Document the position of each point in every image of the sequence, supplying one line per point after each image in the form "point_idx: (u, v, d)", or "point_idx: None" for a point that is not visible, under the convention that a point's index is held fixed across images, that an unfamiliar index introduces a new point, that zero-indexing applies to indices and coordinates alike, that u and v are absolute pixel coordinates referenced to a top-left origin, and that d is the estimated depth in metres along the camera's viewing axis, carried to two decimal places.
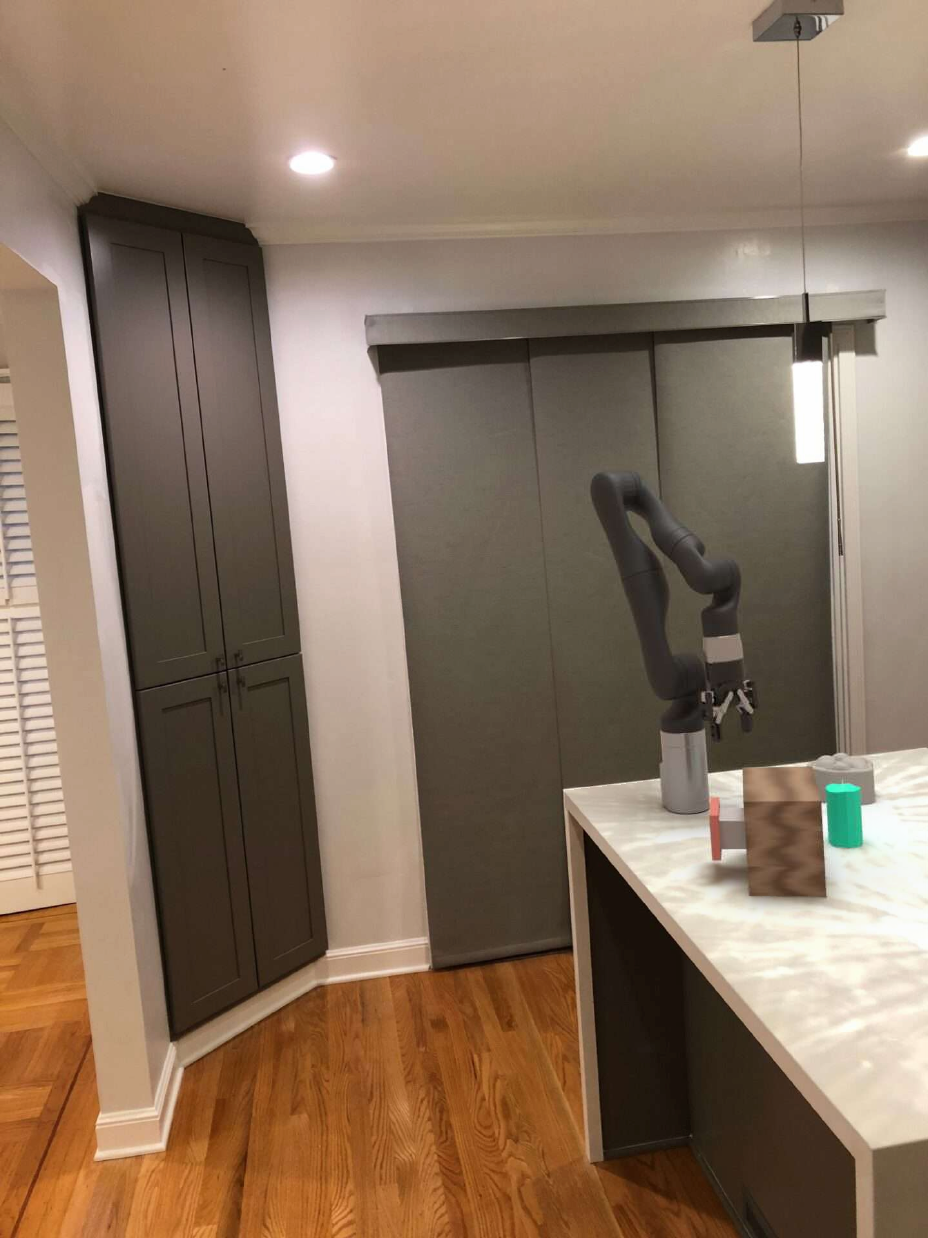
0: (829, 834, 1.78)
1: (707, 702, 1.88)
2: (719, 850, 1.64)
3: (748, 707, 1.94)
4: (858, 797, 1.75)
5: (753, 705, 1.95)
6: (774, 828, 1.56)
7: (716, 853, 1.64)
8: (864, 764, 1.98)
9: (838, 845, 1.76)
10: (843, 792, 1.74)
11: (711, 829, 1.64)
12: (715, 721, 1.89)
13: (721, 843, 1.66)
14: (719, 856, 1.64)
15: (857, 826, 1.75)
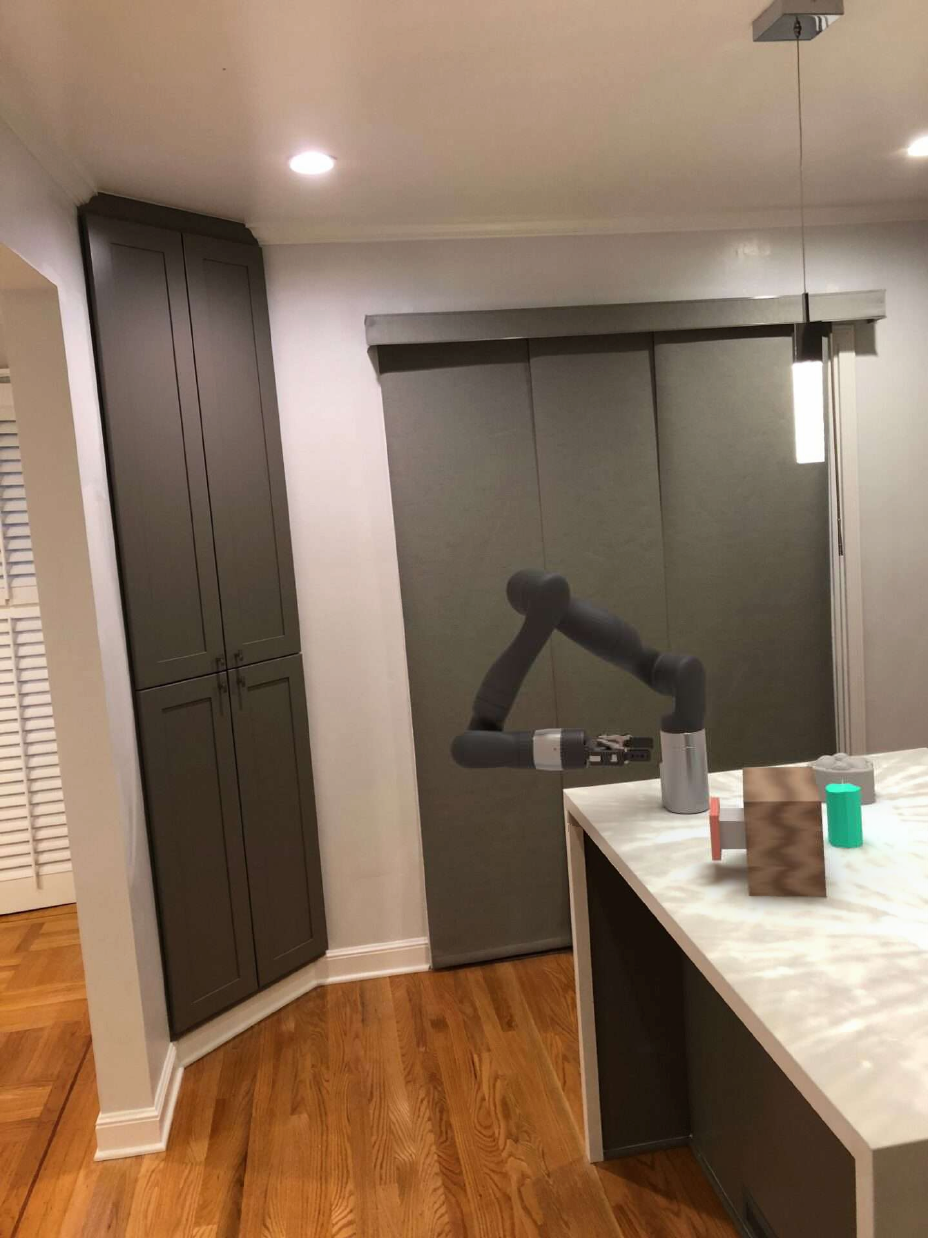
0: (829, 834, 1.78)
1: None
2: (719, 850, 1.64)
3: None
4: (858, 797, 1.75)
5: None
6: (774, 828, 1.56)
7: (716, 853, 1.64)
8: (864, 764, 1.98)
9: (838, 845, 1.76)
10: (843, 792, 1.74)
11: (711, 829, 1.64)
12: None
13: (721, 843, 1.66)
14: (719, 856, 1.64)
15: (857, 826, 1.75)
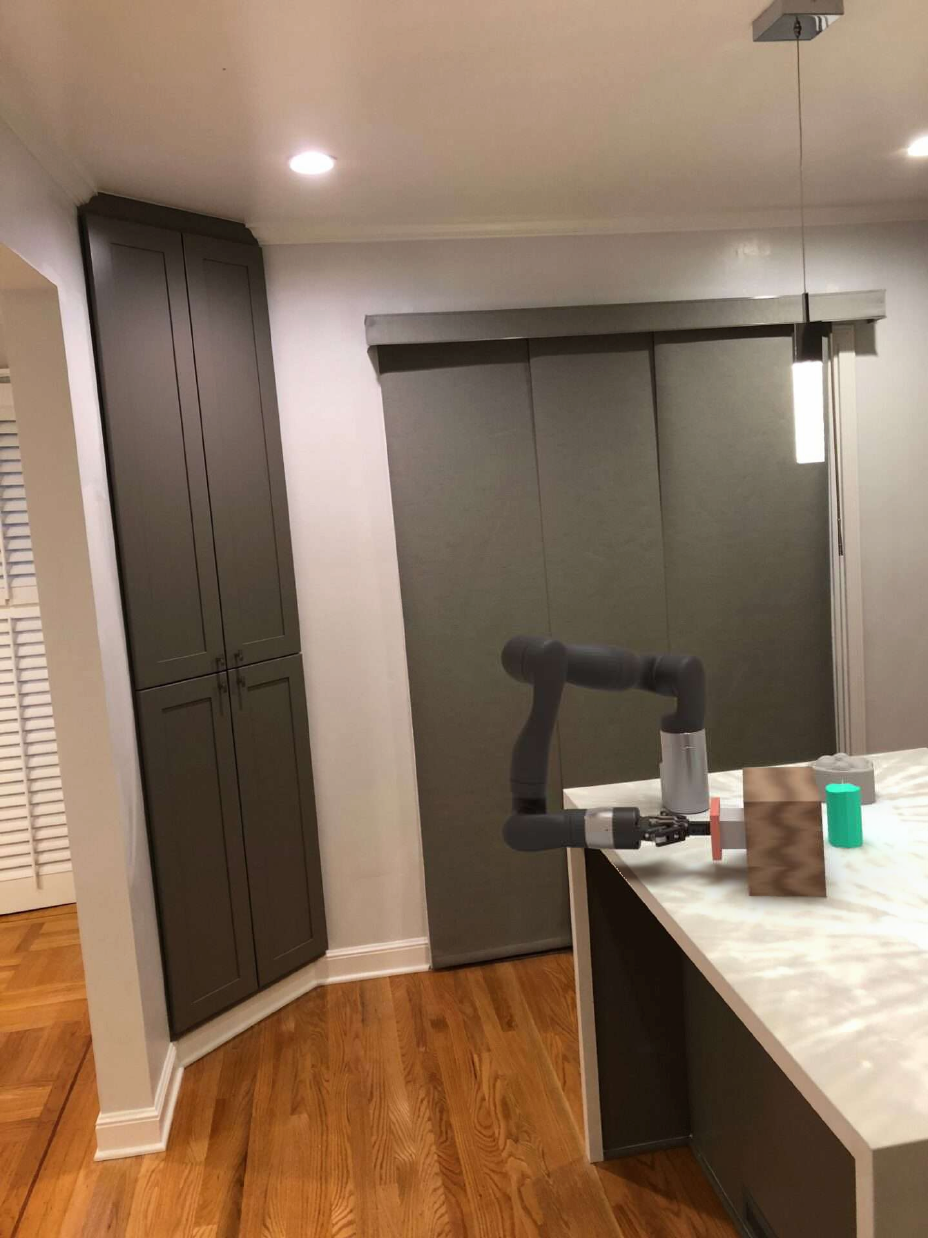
0: (829, 834, 1.78)
1: None
2: (719, 850, 1.64)
3: None
4: (858, 797, 1.75)
5: None
6: (774, 828, 1.56)
7: (717, 853, 1.64)
8: (864, 764, 1.98)
9: (838, 845, 1.76)
10: (843, 792, 1.74)
11: (711, 829, 1.64)
12: None
13: (721, 843, 1.65)
14: (719, 856, 1.64)
15: (857, 826, 1.75)
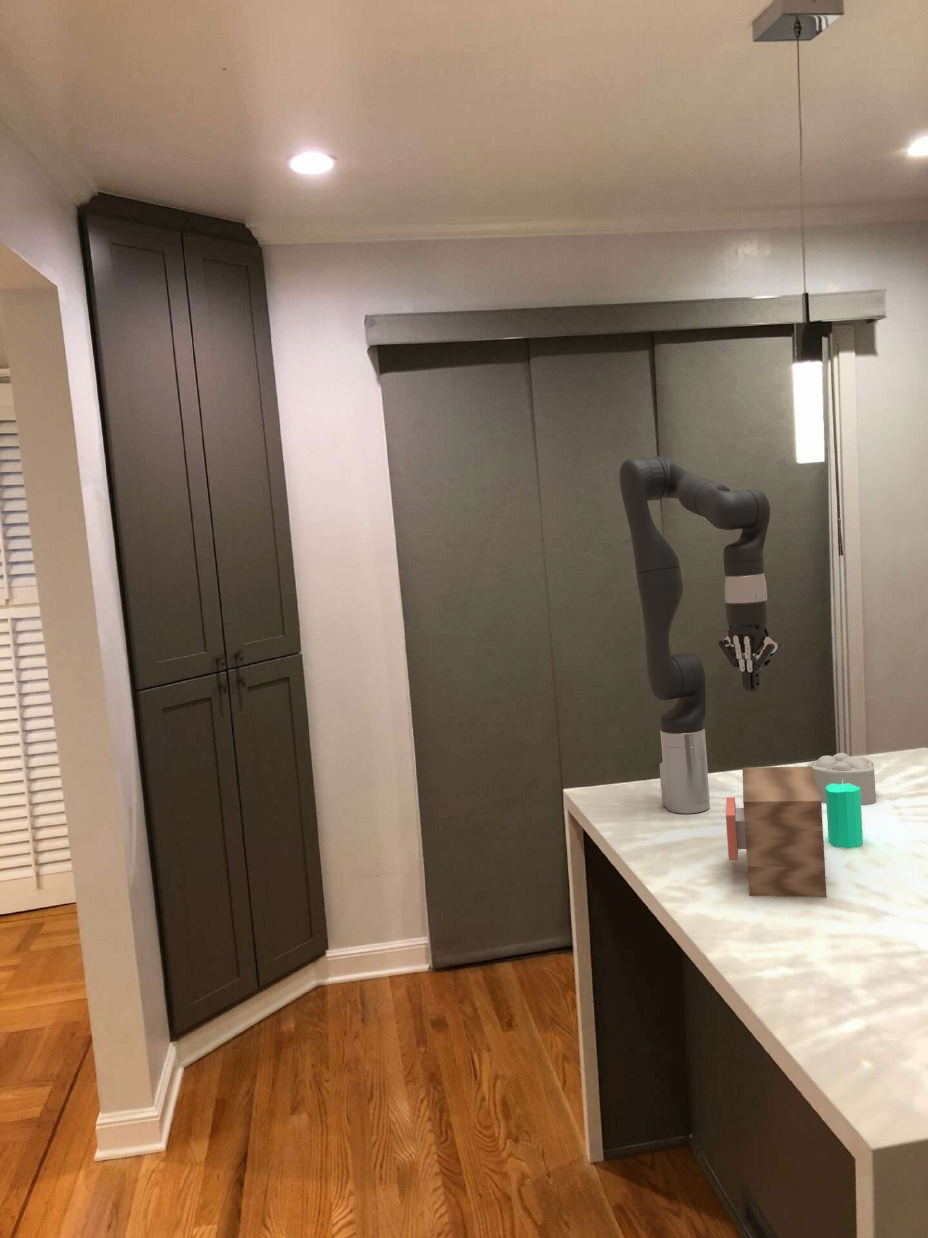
0: (829, 834, 1.78)
1: None
2: (736, 850, 1.63)
3: (746, 664, 1.78)
4: (858, 797, 1.75)
5: None
6: (774, 828, 1.56)
7: (733, 853, 1.64)
8: (865, 764, 1.98)
9: (838, 845, 1.76)
10: (843, 792, 1.74)
11: (728, 829, 1.63)
12: None
13: (738, 843, 1.65)
14: (736, 856, 1.64)
15: (857, 826, 1.75)
